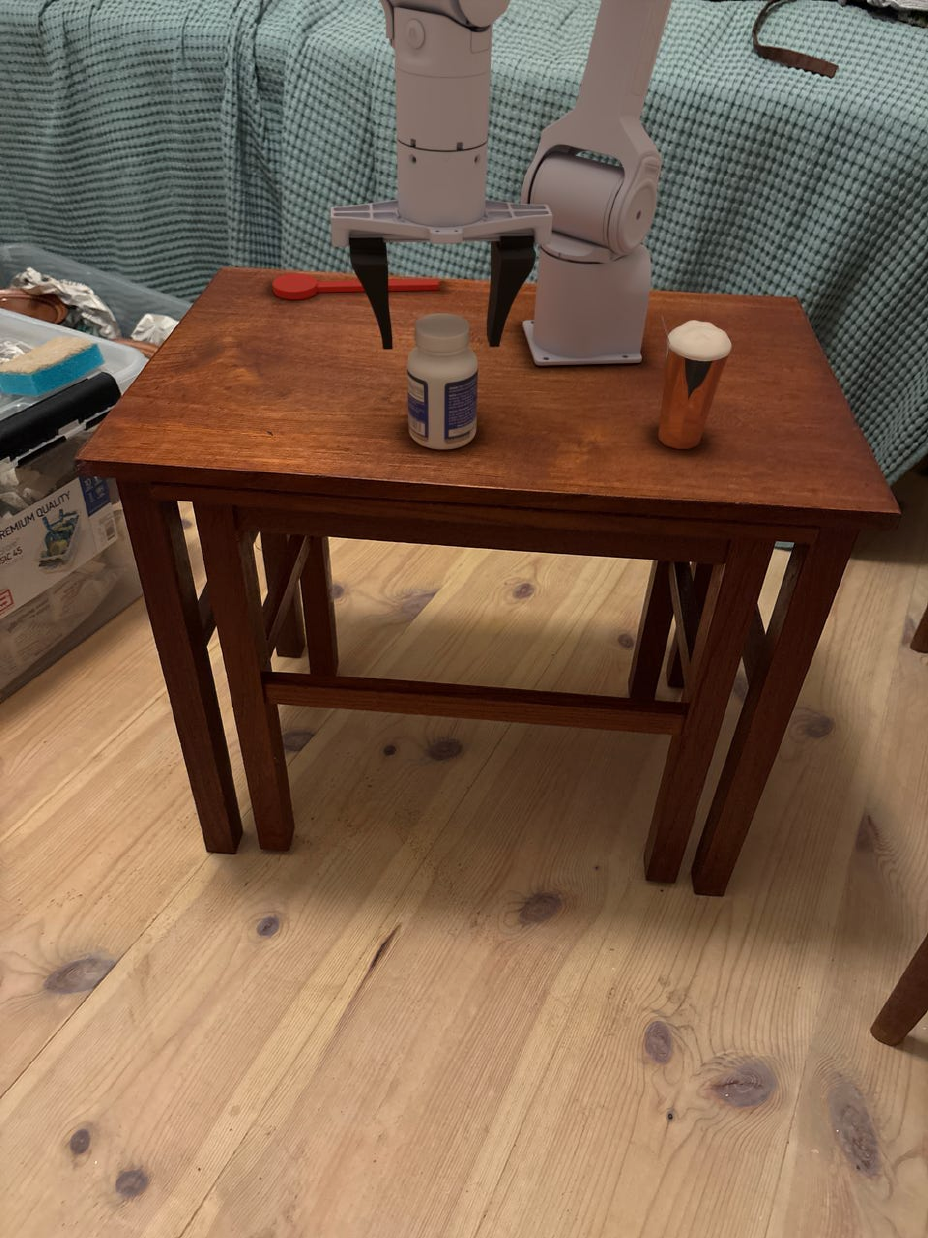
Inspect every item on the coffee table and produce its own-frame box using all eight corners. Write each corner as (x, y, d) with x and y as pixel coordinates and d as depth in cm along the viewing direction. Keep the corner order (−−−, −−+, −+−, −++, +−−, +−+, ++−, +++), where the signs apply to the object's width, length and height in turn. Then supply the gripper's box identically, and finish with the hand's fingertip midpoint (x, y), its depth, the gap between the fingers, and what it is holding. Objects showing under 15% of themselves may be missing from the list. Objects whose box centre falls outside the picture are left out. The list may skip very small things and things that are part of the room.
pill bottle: (478, 418, 74) (483, 311, 67) (472, 453, 70) (476, 344, 64) (412, 413, 74) (411, 306, 68) (403, 448, 70) (400, 339, 64)
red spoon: (436, 278, 93) (436, 270, 93) (440, 296, 90) (440, 288, 89) (274, 281, 92) (273, 273, 91) (272, 300, 88) (271, 291, 88)
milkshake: (633, 423, 73) (654, 302, 67) (699, 422, 74) (727, 302, 67) (646, 455, 70) (669, 331, 63) (714, 454, 71) (745, 330, 64)
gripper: (324, 158, 54) (339, 371, 63) (568, 157, 55) (548, 365, 64) (325, 123, 59) (339, 324, 68) (548, 123, 60) (532, 321, 70)
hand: (440, 342), depth 67 cm, fingers open, 7 cm apart
